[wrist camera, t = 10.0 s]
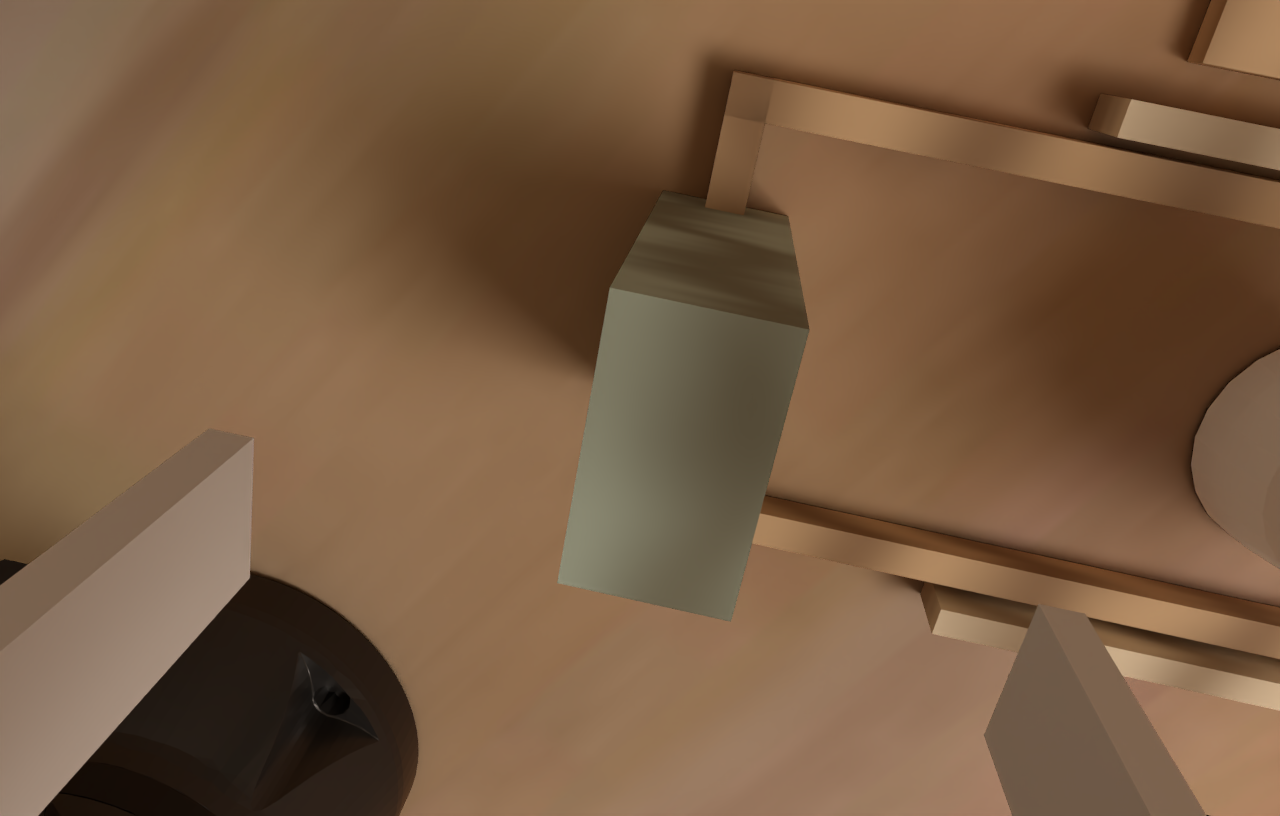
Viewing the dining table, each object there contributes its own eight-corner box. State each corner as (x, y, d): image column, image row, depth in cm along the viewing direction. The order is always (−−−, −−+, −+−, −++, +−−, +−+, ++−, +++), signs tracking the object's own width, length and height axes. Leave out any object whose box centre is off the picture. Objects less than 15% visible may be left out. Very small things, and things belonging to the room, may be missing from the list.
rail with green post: (605, 491, 34) (533, 716, 23) (688, 60, 28) (646, 81, 17) (1368, 658, 33) (1680, 977, 22) (1615, 248, 27) (2208, 400, 16)
